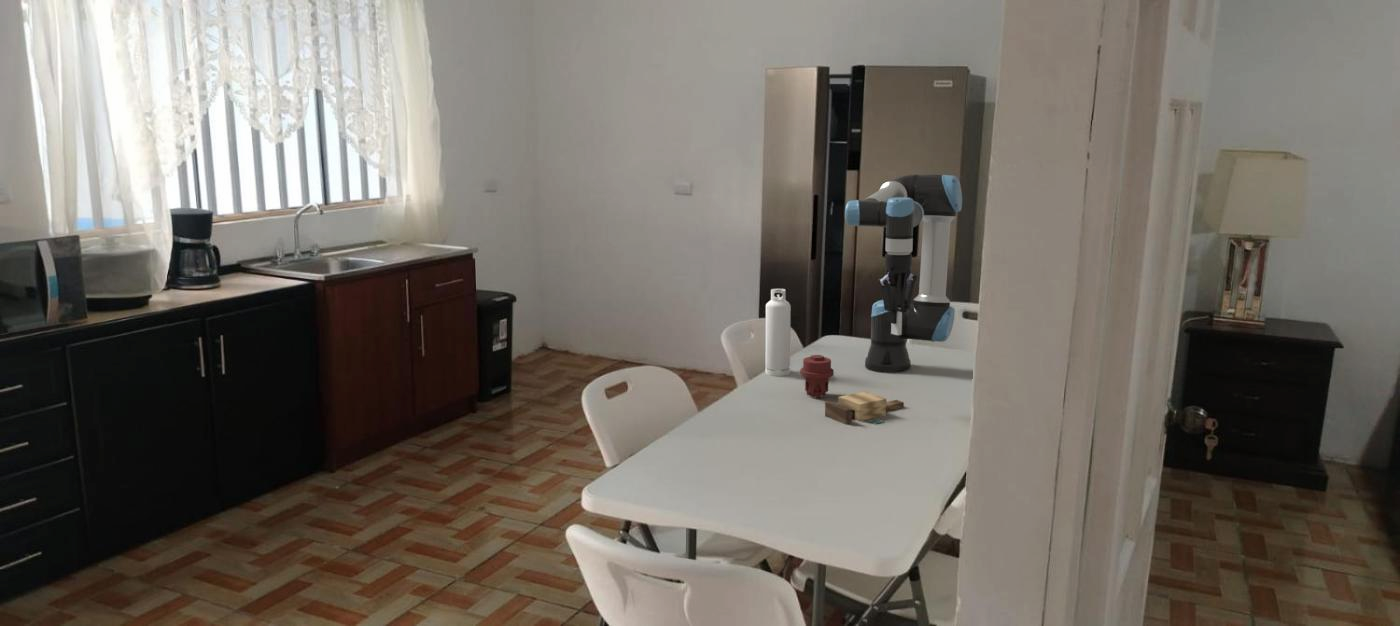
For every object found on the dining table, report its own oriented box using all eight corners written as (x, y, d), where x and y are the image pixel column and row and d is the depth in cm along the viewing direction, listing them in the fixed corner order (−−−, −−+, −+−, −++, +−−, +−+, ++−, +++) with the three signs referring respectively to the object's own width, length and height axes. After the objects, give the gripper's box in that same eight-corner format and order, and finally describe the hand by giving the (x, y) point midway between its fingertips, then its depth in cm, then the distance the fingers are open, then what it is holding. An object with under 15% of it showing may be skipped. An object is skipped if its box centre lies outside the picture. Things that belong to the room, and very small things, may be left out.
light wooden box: (864, 407, 283) (864, 391, 282) (885, 415, 276) (886, 398, 275) (838, 413, 278) (838, 396, 277) (859, 421, 271) (859, 404, 270)
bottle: (789, 369, 326) (790, 287, 320) (789, 376, 318) (790, 292, 312) (765, 369, 327) (766, 287, 321) (764, 375, 319) (765, 291, 313)
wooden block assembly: (879, 398, 292) (879, 385, 291) (922, 413, 277) (922, 400, 276) (815, 412, 279) (815, 398, 279) (856, 428, 264) (856, 414, 264)
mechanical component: (831, 390, 301) (834, 400, 291) (798, 391, 301) (801, 400, 291) (831, 352, 298) (835, 360, 288) (799, 352, 298) (801, 360, 289)
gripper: (906, 249, 281) (903, 328, 286) (872, 253, 274) (870, 334, 279) (925, 252, 274) (922, 333, 279) (890, 256, 268) (888, 339, 273)
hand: (896, 334), depth 279 cm, fingers closed
